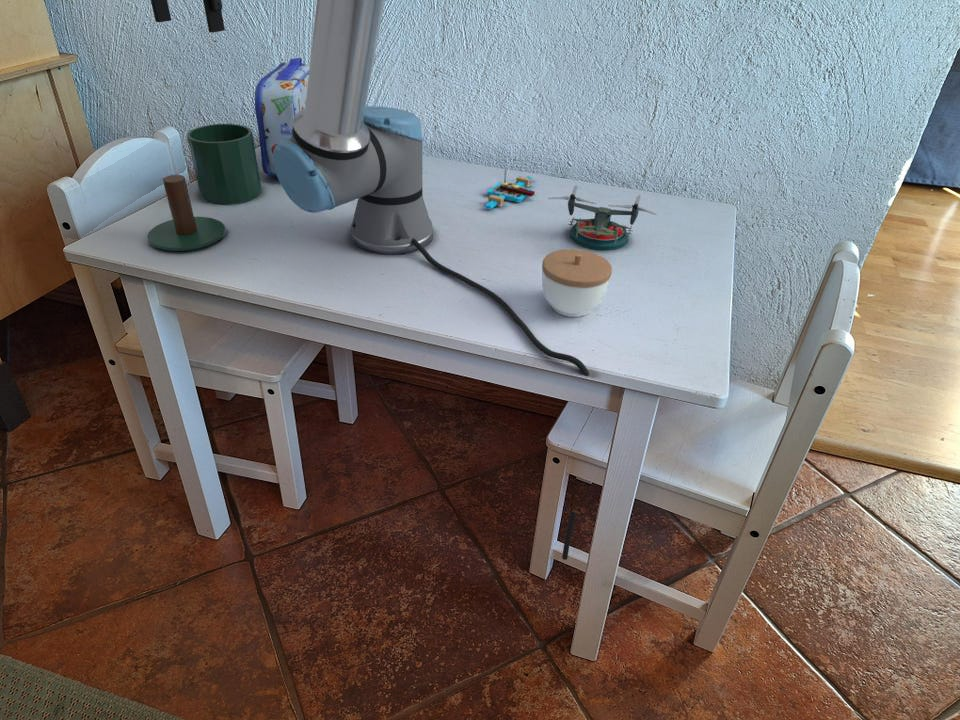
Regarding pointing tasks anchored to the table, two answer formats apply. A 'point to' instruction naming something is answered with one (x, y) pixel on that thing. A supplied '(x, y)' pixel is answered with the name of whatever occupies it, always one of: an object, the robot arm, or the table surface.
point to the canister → (225, 163)
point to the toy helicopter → (600, 224)
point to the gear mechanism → (509, 191)
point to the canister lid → (183, 222)
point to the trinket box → (575, 281)
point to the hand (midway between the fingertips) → (189, 26)
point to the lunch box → (279, 106)
